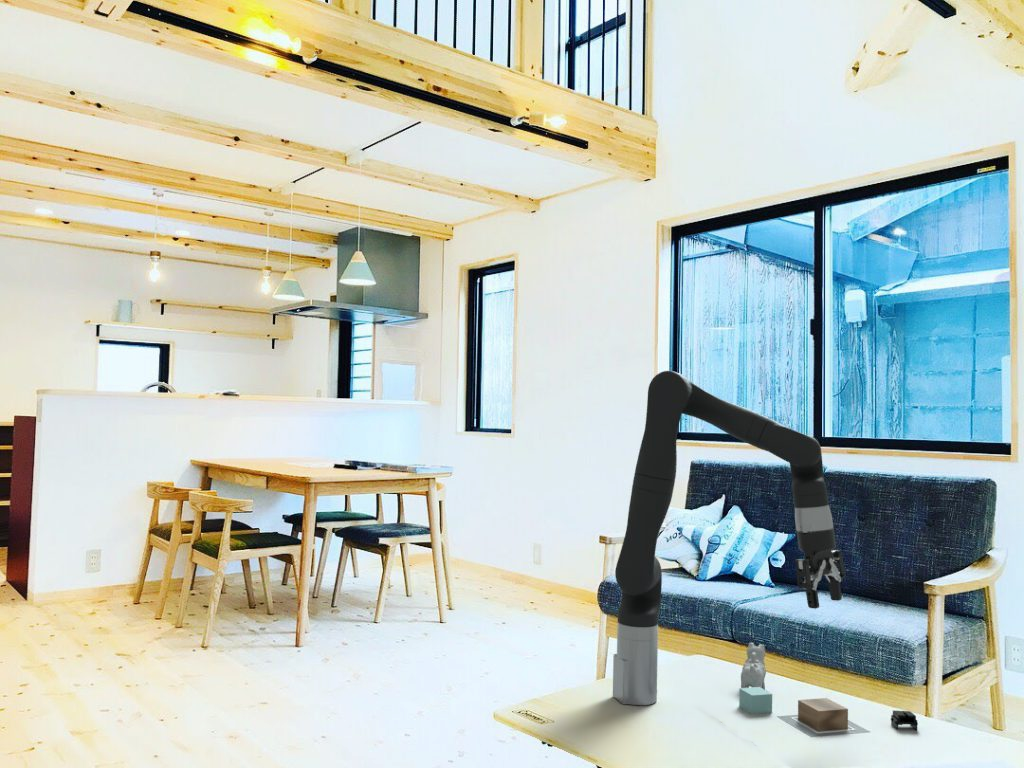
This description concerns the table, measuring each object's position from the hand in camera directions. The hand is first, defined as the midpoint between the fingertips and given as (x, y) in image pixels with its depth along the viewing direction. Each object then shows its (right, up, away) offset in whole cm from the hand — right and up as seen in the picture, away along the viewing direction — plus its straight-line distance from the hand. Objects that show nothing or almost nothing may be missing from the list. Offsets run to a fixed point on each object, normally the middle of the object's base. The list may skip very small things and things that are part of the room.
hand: (825, 604), depth 178 cm
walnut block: (-2, -24, -3) cm, 25 cm away
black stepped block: (+15, -27, -4) cm, 31 cm away
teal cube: (-13, -25, +5) cm, 29 cm away
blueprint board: (-2, -25, -3) cm, 26 cm away
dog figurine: (-10, -27, +21) cm, 35 cm away
